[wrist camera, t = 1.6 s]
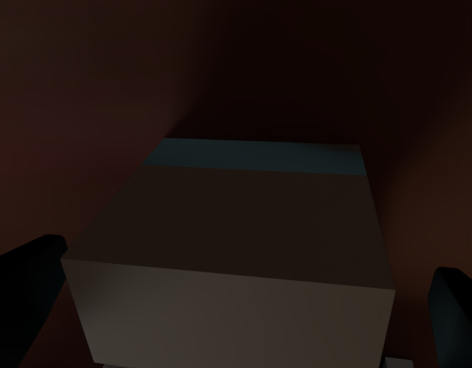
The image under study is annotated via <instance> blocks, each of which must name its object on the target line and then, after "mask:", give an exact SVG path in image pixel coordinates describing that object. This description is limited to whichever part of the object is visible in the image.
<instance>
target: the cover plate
mask: <svg viewBox="0 0 472 368" xmlns="http://www.w3.org/2000/svg"><path fill="white" fill-rule="evenodd" d="M60 260H61V263H62V266H63V269H64V272H65V275H66V278H67V281H68V284H69V288H70V291H71V294H72V297H73V300H74V303H75V306H76V309H77V312H78V315H79V318H80V321H81V324H82V327H83V330H84V333H85V336H86V339H87V342H88V345H89V348H90V351H91V355H92V358H93V361H94V362H95V363H102V364H109V365H116V366H124V367H131V368H379V364H380V360H381V355H382V351H383V346H384V342H385V337H386V333H387V328H388V324H389V319H390V314H391V310H392V305H393V301H394V296H395V292H396V288H395V284H394V281H393V277H392V273H391V269H390V265H389V261H388V257H387V253H386V249H385V245H384V241H383V237H382V233H381V229H380V225H379V221H378V217H377V213H376V209H375V205H374V201H373V197H372V193H371V189H370V185H369V181H368V177H367V173H366V169H365V165H364V161H363V157H362V153H361V149H360V145H351V144H322V143H293V142H264V141H235V140H207V139H178V138H164V139H163V140H162V141H161V142H160V143H159V145H158V146H157V147H156V148H155V149H154V150H153V152H152V153H151V154H150V155H149V156H148V157H147V159H146V160H145V161H144V162H143V163H142V164H141V165H140V167H139V168H138V169H137V170H136V171H135V172H134V174H133V175H132V176H131V177H130V178H129V179H128V181H127V182H126V183H125V184H124V185H123V186H122V187H121V189H120V190H119V191H118V192H117V193H116V194H115V196H114V197H113V198H112V199H111V200H110V201H109V203H108V204H107V205H106V206H105V207H104V208H103V209H102V211H101V212H100V213H99V214H98V215H97V216H96V218H95V219H94V220H93V221H92V222H91V223H90V225H89V226H88V227H87V228H86V229H85V230H84V231H83V233H82V234H81V235H80V236H79V237H78V238H77V240H76V241H75V242H74V243H73V244H72V245H71V247H70V248H69V249H68V250H67V251H66V252H65V253H64V255H63V256H62V257H61V258H60Z"/></svg>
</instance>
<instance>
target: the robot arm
mask: <svg viewBox="0 0 472 368" xmlns="http://www.w3.org/2000/svg"><path fill="white" fill-rule="evenodd" d="M67 250H68V247H67V244H66V241H65V239H64V237H63V236H61V235H53V234H46V235H44V236H41V237H39V238H37V239H35V240H33V241H31V242H28V243H26V244H24V245H22V246H20V247H18V248H15V249H13V250H11V251H9V252H7V253H5V254H3V255H0V368H18V366H19V365H20V363H21V361H22V360H23V358H24V356H25V355H26V353H27V351H28V350H29V348H30V346H31V345H32V343H33V341H34V340H35V338H36V336H37V335H38V333H39V331H40V330H41V328H42V326H43V324H44V323H45V321H46V319H47V317H48V315H49V313H50V311H51V309H52V307H53V305H54V303H55V301H56V298H57V296H58V294H59V292H60V290H61V288H62V286H63V284H64V282H65V279H66V275H65V272H64V269H63V266H62V263H61V260H60V258H61V257H62V256H63V255H64V253H65V252H66V251H67ZM428 306H429V311H430V317H431V323H432V328H433V334H434V340H435V345H436V351H437V357H438V362H439V367H440V368H472V279H470V278H469V277H468V276H467V275H466V274H464V273H463V272H462V271H461V270H459V269H457V268H449V267H438V268H437V269H436V270H435V273H434V276H433V280H432V283H431V287H430V291H429V294H428Z"/></svg>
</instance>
